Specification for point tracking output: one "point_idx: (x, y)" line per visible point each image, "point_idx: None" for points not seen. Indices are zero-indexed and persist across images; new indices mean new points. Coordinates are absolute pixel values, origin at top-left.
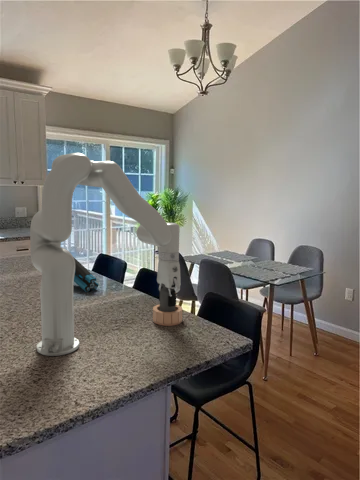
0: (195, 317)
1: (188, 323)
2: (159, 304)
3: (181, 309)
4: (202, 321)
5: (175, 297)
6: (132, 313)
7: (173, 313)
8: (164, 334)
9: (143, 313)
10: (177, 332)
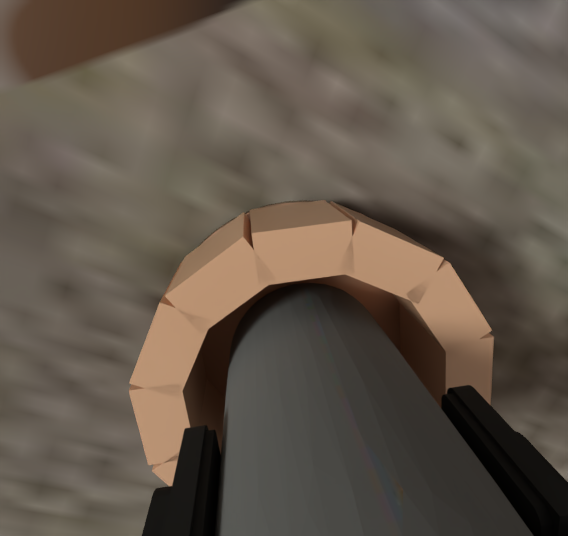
0: (332, 22)
1: (444, 183)
2: (145, 443)
3: (433, 267)
4: (469, 11)
5: (550, 487)
6: (31, 533)
7: (487, 393)
8: (534, 439)
9: (53, 459)
10: (556, 349)
